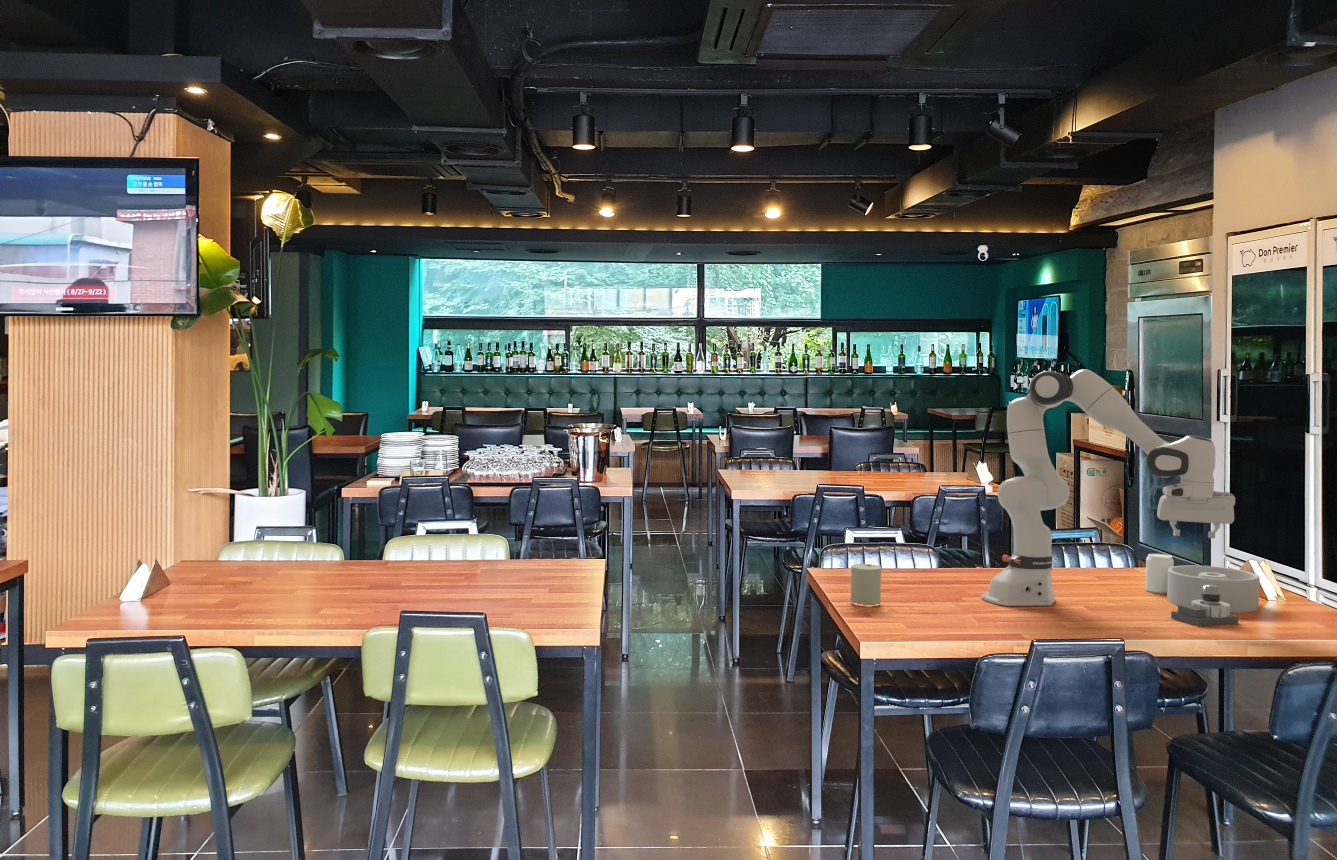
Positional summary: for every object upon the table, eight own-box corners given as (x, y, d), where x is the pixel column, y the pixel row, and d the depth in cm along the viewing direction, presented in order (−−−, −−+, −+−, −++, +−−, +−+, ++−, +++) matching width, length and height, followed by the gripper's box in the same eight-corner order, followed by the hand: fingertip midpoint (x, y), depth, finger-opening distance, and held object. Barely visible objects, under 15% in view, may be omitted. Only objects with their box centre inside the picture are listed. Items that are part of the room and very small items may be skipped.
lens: (1218, 616, 284) (1219, 588, 283) (1200, 614, 286) (1201, 586, 286) (1220, 613, 287) (1221, 585, 287) (1202, 611, 290) (1203, 583, 290)
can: (883, 602, 307) (884, 564, 307) (877, 608, 299) (877, 568, 298) (854, 599, 311) (855, 561, 311) (846, 605, 303) (847, 566, 302)
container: (1266, 616, 294) (1267, 582, 294) (1172, 609, 303) (1173, 576, 302) (1249, 599, 318) (1250, 568, 317) (1162, 593, 326) (1163, 562, 326)
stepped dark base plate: (1198, 626, 280) (1198, 608, 280) (1171, 618, 290) (1171, 601, 289) (1238, 623, 284) (1238, 606, 284) (1210, 615, 294) (1210, 598, 293)
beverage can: (1175, 594, 323) (1177, 558, 322) (1148, 593, 324) (1150, 557, 324) (1168, 589, 330) (1169, 554, 330) (1142, 588, 332) (1143, 552, 332)
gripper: (1232, 491, 295) (1229, 537, 296) (1157, 487, 300) (1154, 533, 301) (1238, 493, 289) (1236, 541, 290) (1161, 490, 294) (1159, 536, 295)
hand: (1193, 536), depth 295 cm, fingers open, 8 cm apart
